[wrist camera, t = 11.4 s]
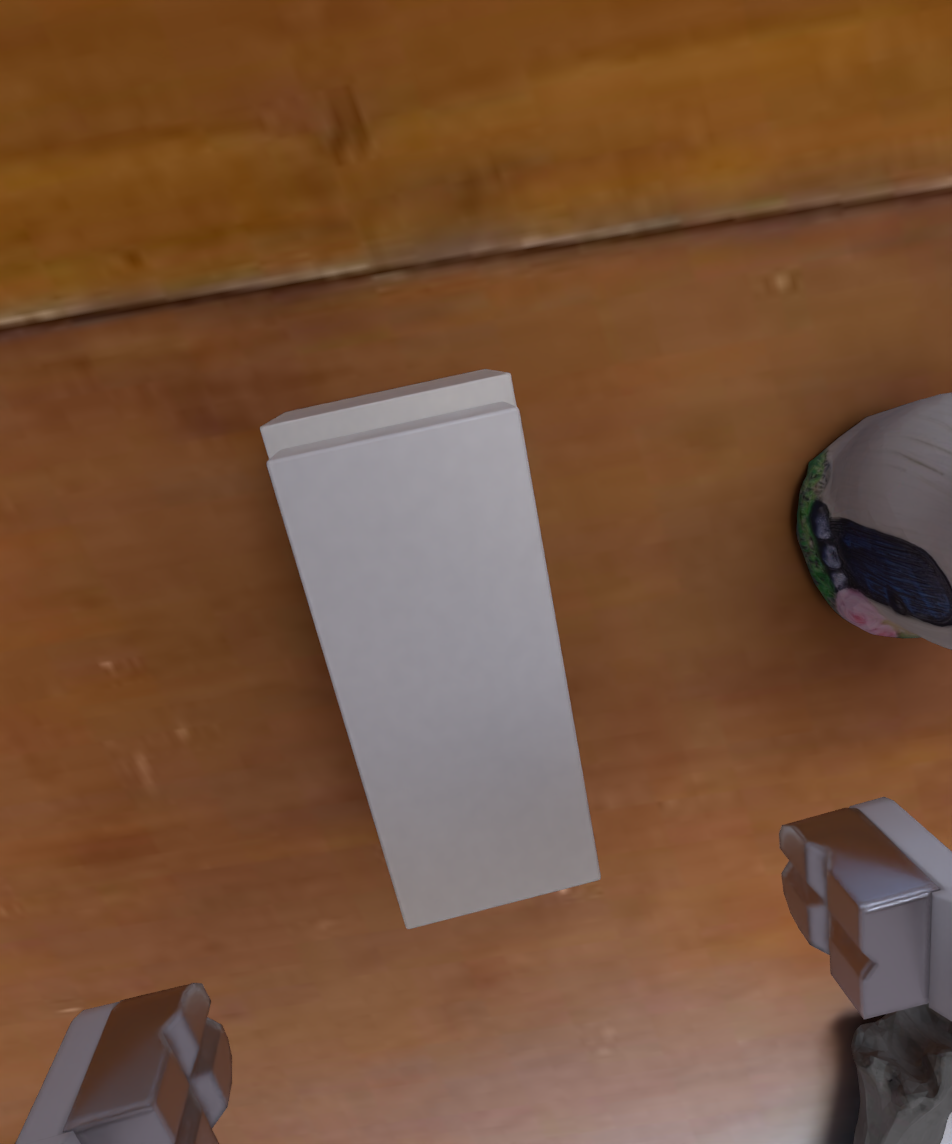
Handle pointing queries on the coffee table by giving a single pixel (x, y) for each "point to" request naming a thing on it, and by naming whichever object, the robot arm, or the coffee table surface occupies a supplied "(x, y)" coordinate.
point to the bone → (904, 1077)
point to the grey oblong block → (387, 408)
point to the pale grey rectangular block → (444, 655)
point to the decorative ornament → (885, 522)
